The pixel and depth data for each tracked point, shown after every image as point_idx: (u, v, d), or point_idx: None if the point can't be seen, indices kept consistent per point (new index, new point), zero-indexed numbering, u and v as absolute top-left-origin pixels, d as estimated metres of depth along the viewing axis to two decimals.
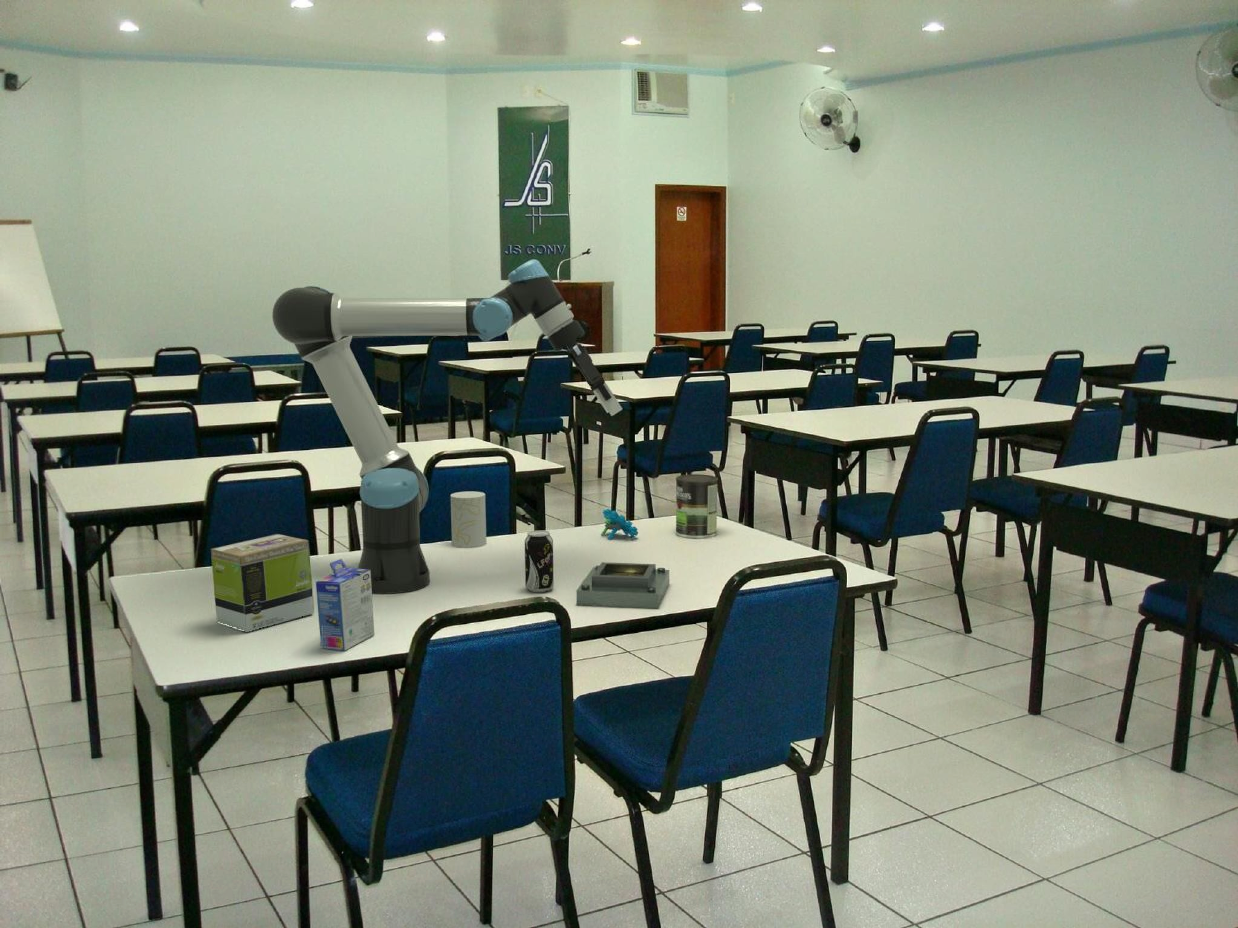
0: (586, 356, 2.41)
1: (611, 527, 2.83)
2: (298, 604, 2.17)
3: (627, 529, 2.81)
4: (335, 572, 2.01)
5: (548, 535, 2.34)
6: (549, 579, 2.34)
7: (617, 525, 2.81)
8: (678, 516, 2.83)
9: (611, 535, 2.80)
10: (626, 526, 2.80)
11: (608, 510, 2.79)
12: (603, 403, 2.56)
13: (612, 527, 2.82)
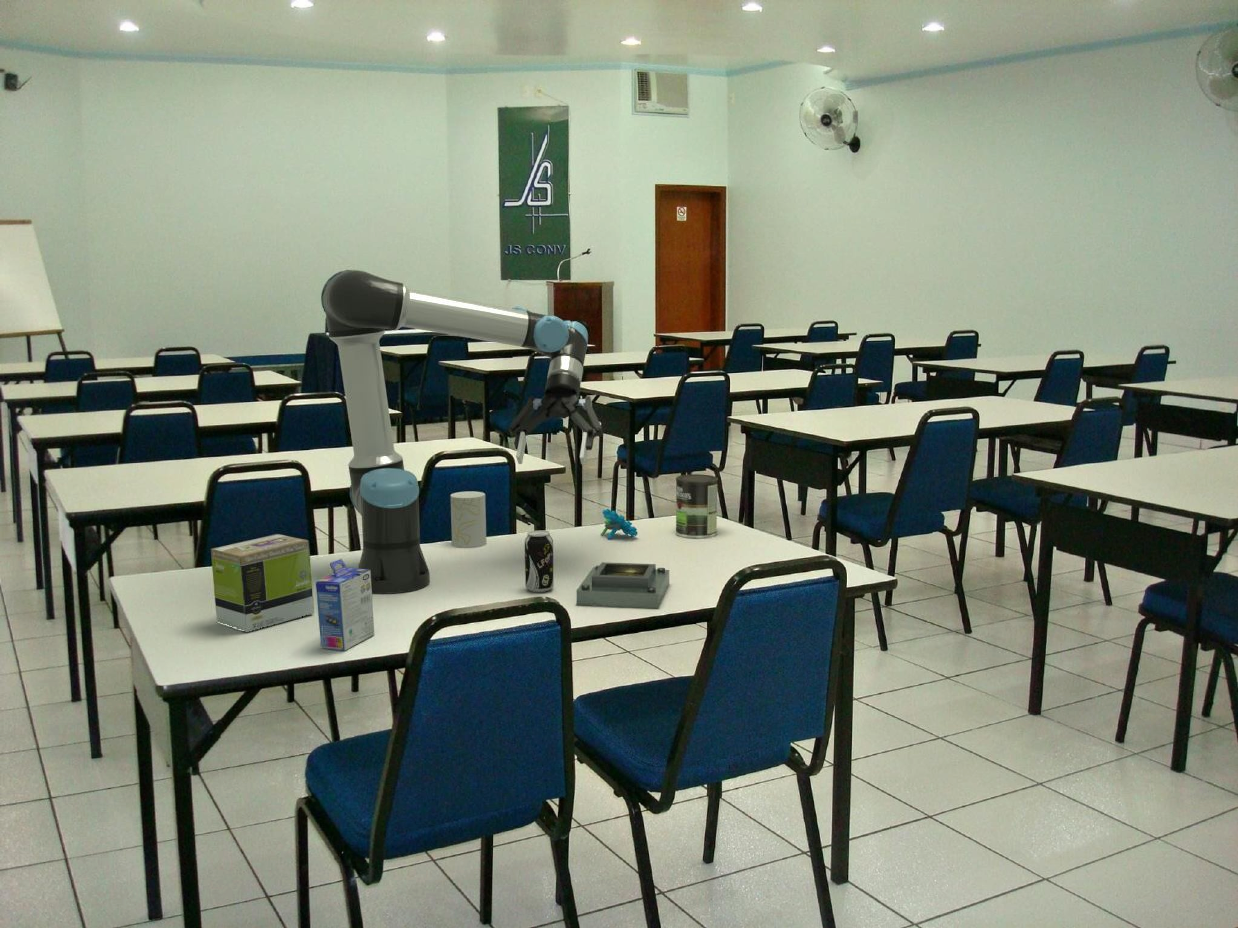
0: None
1: (611, 527, 2.83)
2: (298, 604, 2.17)
3: (627, 529, 2.81)
4: (335, 572, 2.01)
5: (548, 535, 2.34)
6: (549, 579, 2.34)
7: (617, 525, 2.80)
8: (678, 516, 2.83)
9: (610, 535, 2.80)
10: (625, 526, 2.80)
11: (608, 510, 2.79)
12: (521, 449, 2.44)
13: (612, 527, 2.82)
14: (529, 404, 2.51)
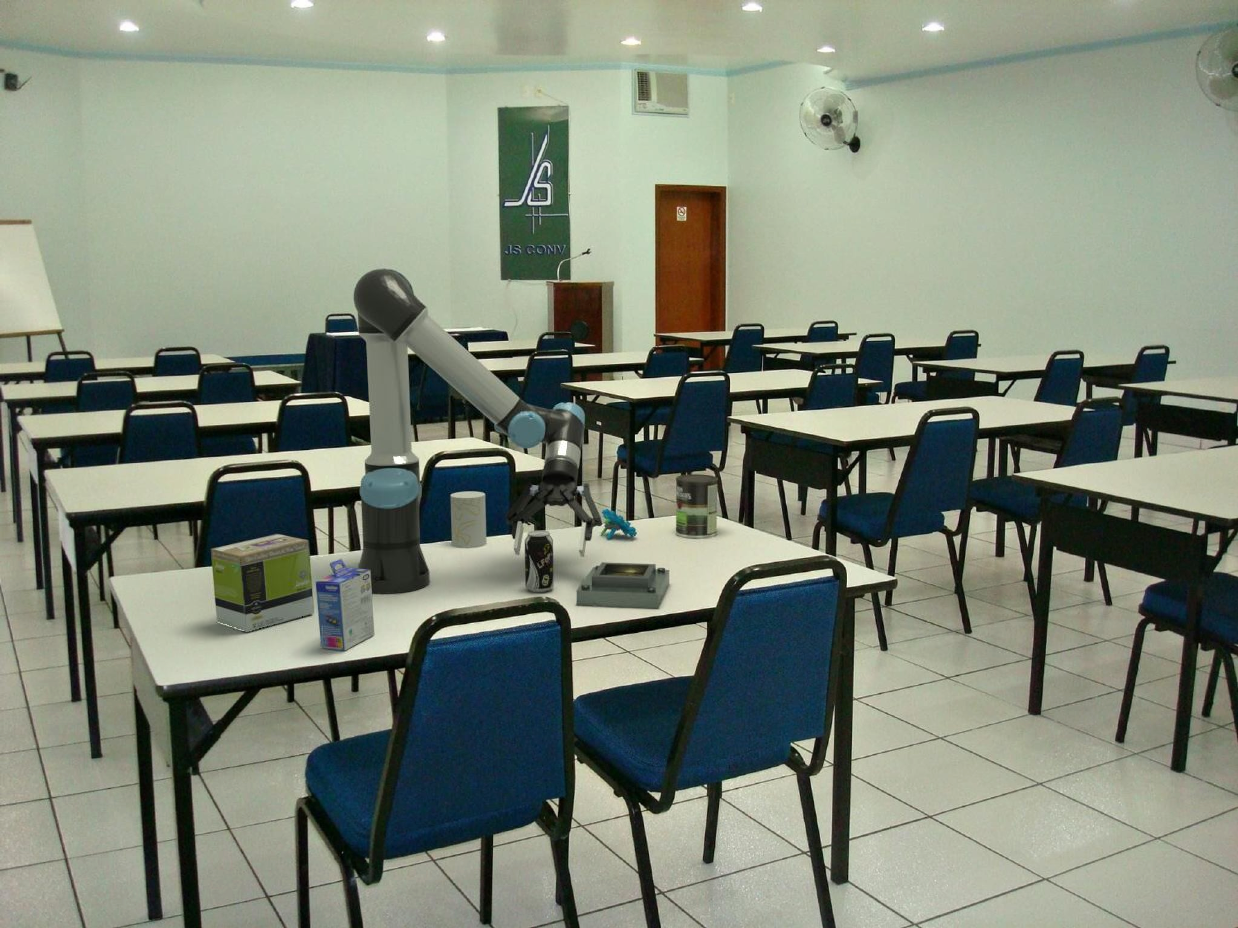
0: None
1: (610, 527, 2.83)
2: (298, 604, 2.17)
3: (626, 529, 2.81)
4: (335, 572, 2.01)
5: (548, 535, 2.34)
6: (549, 579, 2.34)
7: (616, 525, 2.80)
8: (678, 516, 2.83)
9: (610, 535, 2.80)
10: (625, 526, 2.80)
11: (607, 510, 2.79)
12: (518, 539, 2.39)
13: (611, 527, 2.82)
14: (526, 491, 2.45)
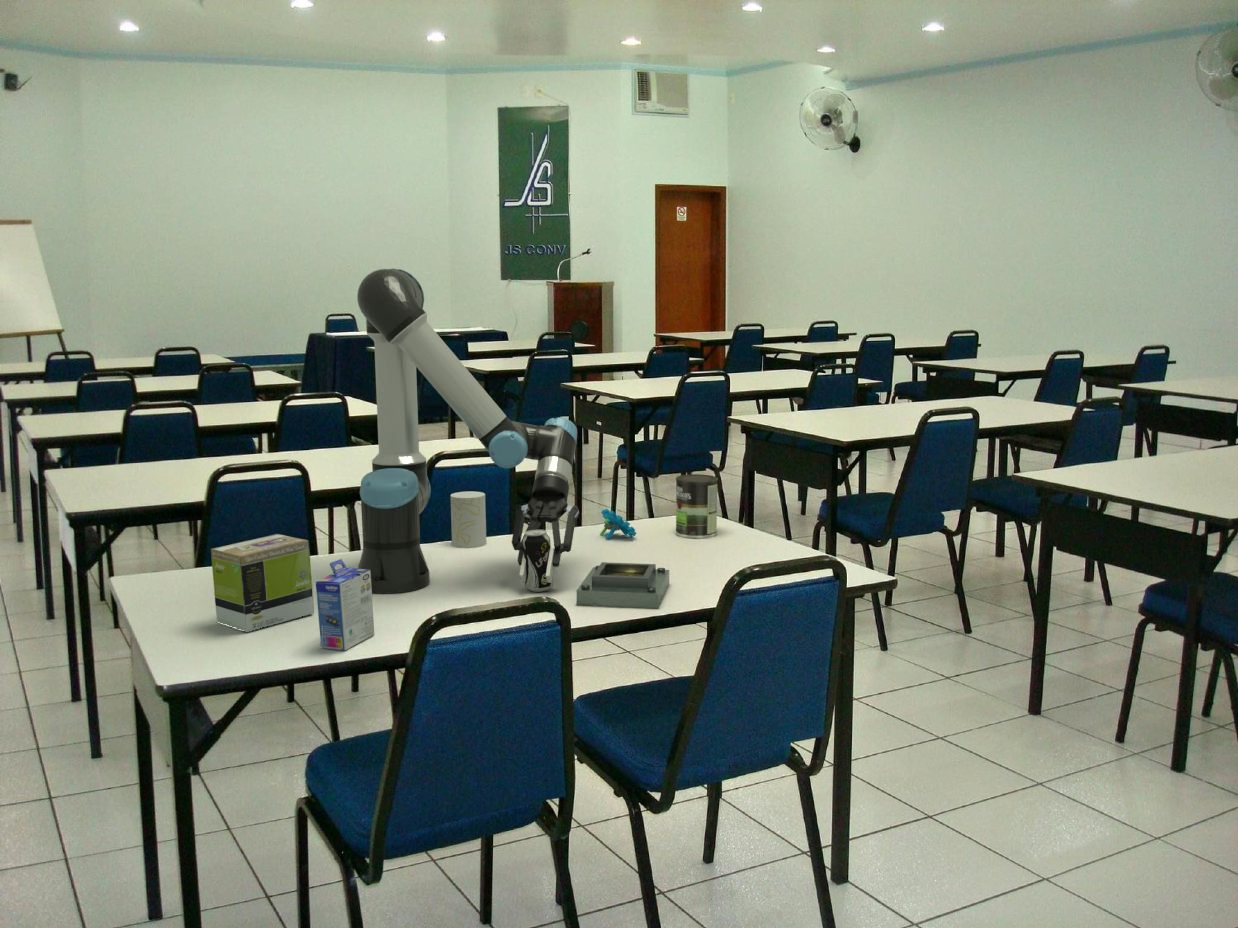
0: (574, 524, 2.40)
1: (610, 527, 2.83)
2: (298, 604, 2.17)
3: (625, 529, 2.81)
4: (335, 572, 2.01)
5: (545, 534, 2.34)
6: None
7: (615, 525, 2.80)
8: (678, 516, 2.83)
9: (609, 535, 2.80)
10: (624, 526, 2.79)
11: (606, 510, 2.79)
12: (525, 566, 2.33)
13: (610, 527, 2.82)
14: (519, 513, 2.40)
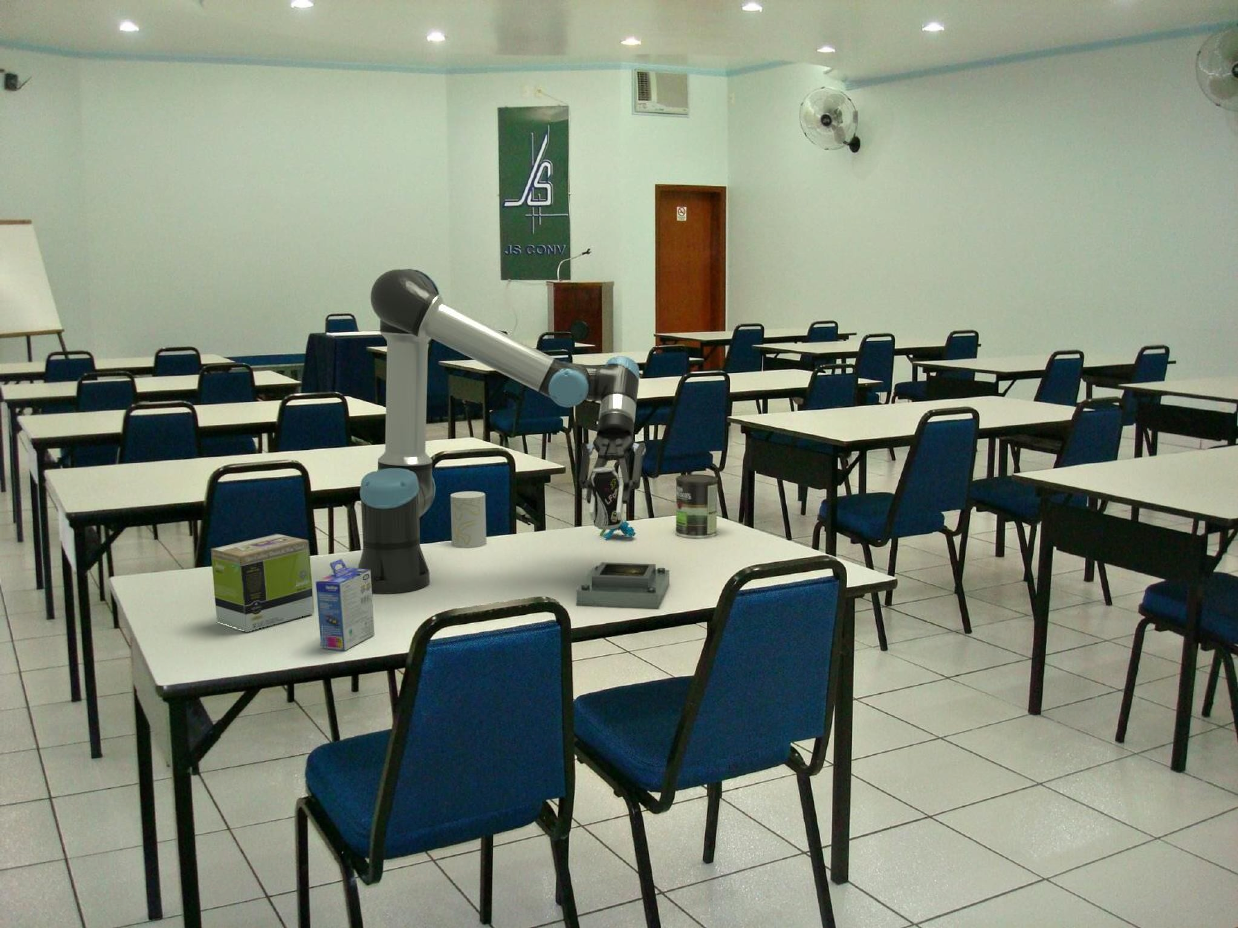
0: None
1: None
2: (298, 604, 2.17)
3: (624, 529, 2.81)
4: (335, 572, 2.01)
5: (614, 470, 2.29)
6: None
7: None
8: (678, 516, 2.83)
9: (608, 535, 2.80)
10: (623, 526, 2.79)
11: None
12: (594, 503, 2.28)
13: None
14: (585, 451, 2.36)
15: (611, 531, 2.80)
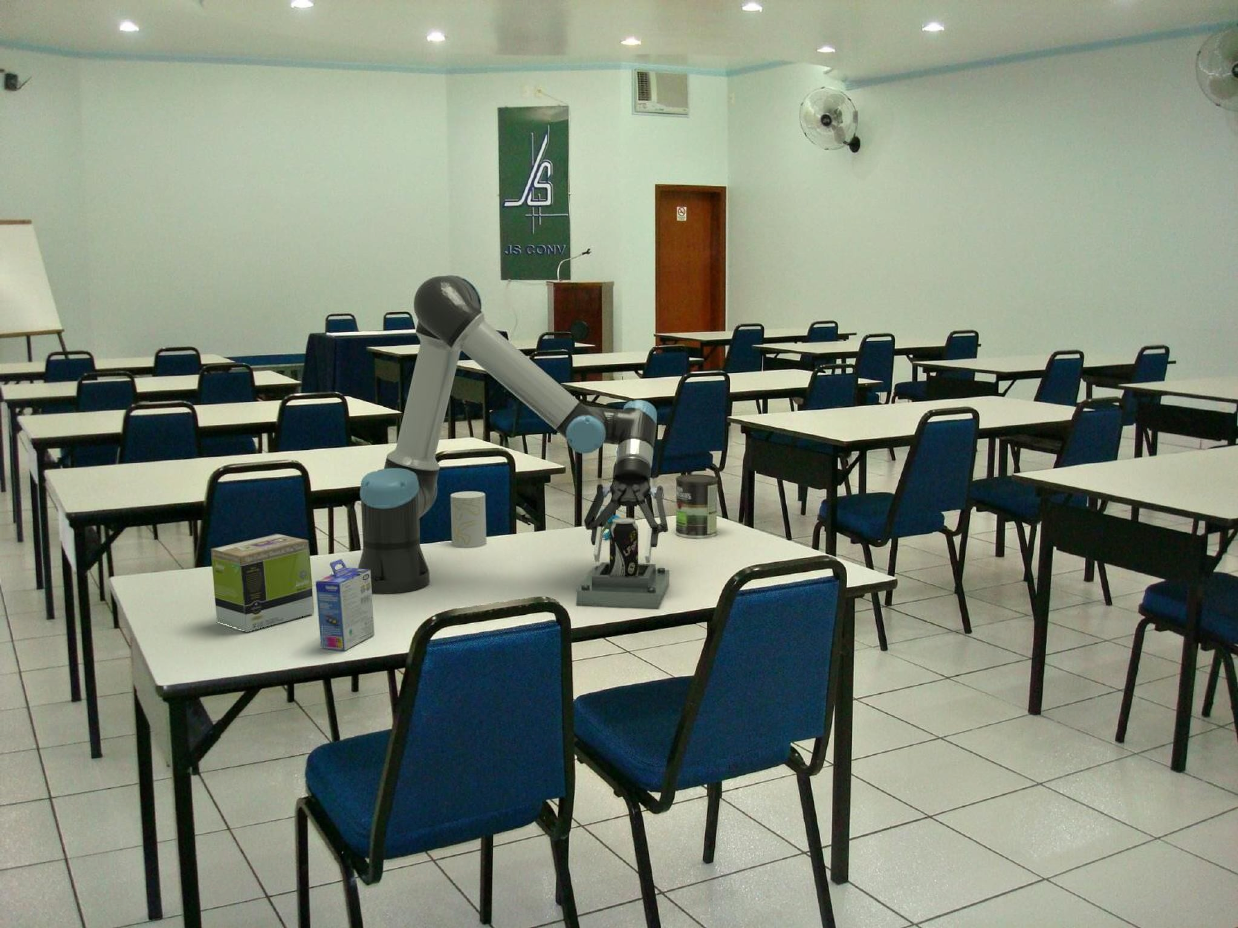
0: None
1: (608, 527, 2.83)
2: (298, 604, 2.17)
3: None
4: (335, 572, 2.01)
5: (634, 522, 2.30)
6: (635, 567, 2.30)
7: None
8: (678, 516, 2.83)
9: (607, 535, 2.80)
10: None
11: None
12: (599, 545, 2.30)
13: (609, 527, 2.82)
14: (599, 493, 2.37)
15: None
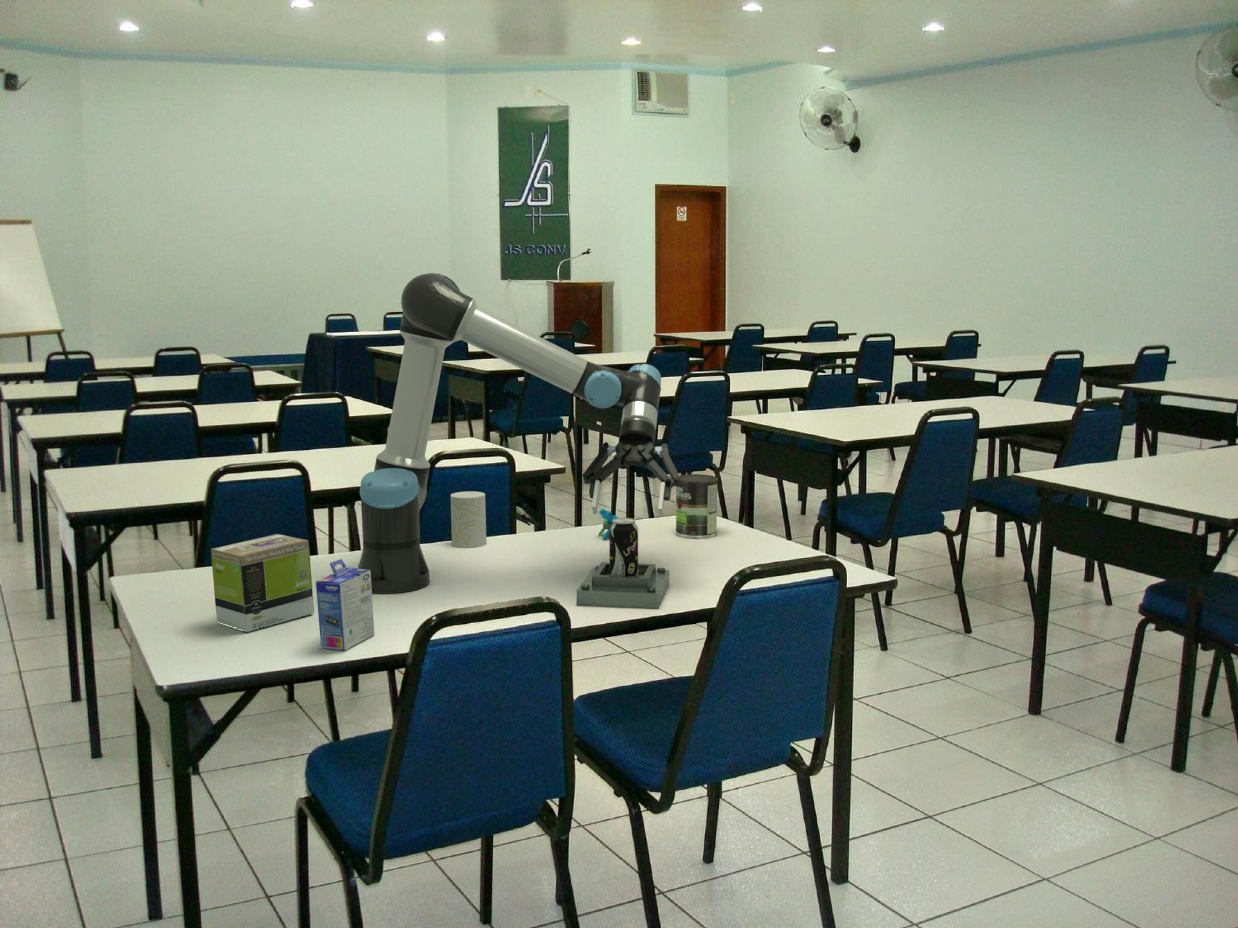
0: None
1: (607, 527, 2.83)
2: (298, 604, 2.17)
3: None
4: (335, 572, 2.01)
5: (634, 522, 2.29)
6: (635, 567, 2.30)
7: None
8: (678, 516, 2.83)
9: (606, 535, 2.80)
10: None
11: (603, 510, 2.79)
12: (597, 498, 2.36)
13: (608, 527, 2.82)
14: (603, 451, 2.43)
15: None
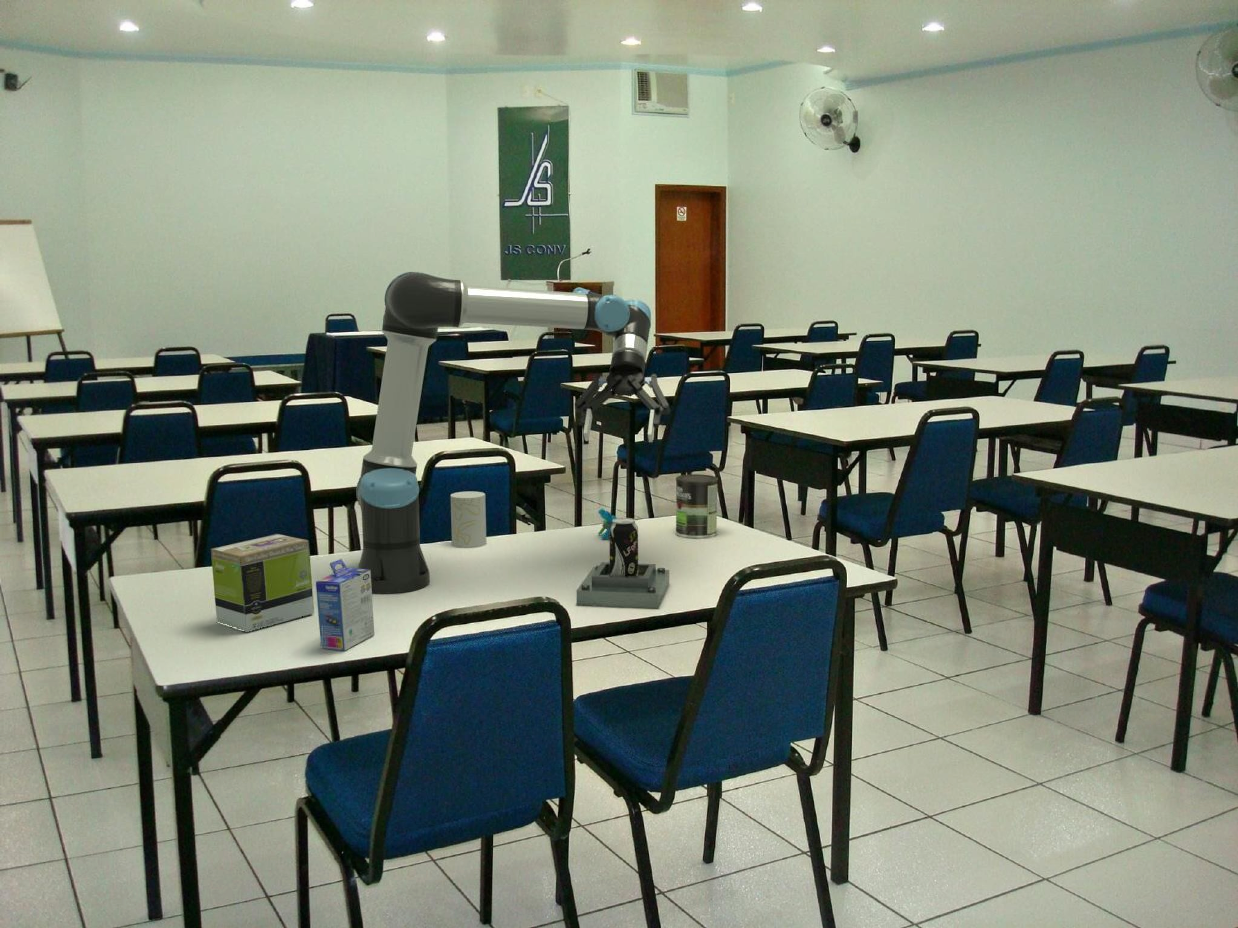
0: None
1: (607, 527, 2.83)
2: (298, 604, 2.17)
3: None
4: (335, 572, 2.01)
5: (634, 522, 2.29)
6: (635, 567, 2.30)
7: None
8: (678, 516, 2.83)
9: (604, 535, 2.80)
10: None
11: (602, 510, 2.79)
12: (588, 426, 2.44)
13: (607, 527, 2.82)
14: (595, 382, 2.50)
15: (608, 531, 2.80)
